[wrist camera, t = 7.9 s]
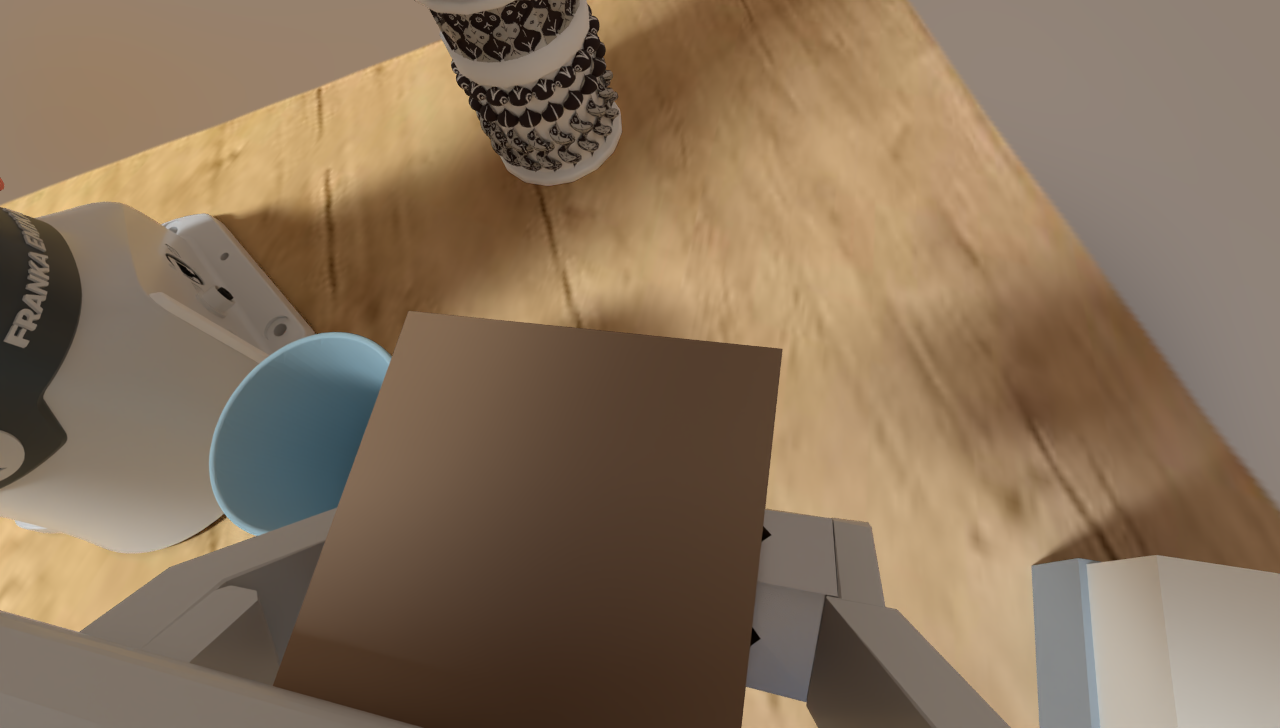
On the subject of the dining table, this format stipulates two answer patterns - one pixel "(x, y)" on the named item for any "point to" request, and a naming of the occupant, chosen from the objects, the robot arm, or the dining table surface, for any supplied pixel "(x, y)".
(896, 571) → the dining table surface
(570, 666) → the walnut pillar
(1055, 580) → the tower base
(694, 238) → the dining table surface
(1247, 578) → the tower mid
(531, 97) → the decorative candle
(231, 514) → the cup
